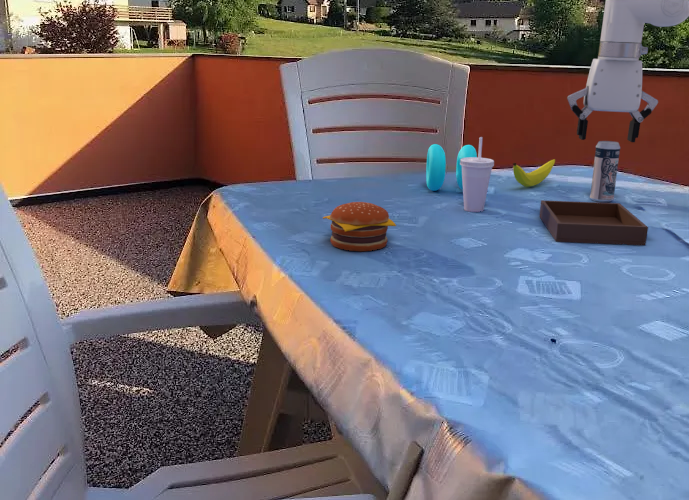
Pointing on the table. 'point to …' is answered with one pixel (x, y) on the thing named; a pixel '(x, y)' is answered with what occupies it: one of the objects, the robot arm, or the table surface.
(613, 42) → the robot arm
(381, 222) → the hamburger
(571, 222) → the tray
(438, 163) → the donuts
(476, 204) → the smoothie
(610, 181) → the beer can
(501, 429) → the table surface
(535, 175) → the banana
